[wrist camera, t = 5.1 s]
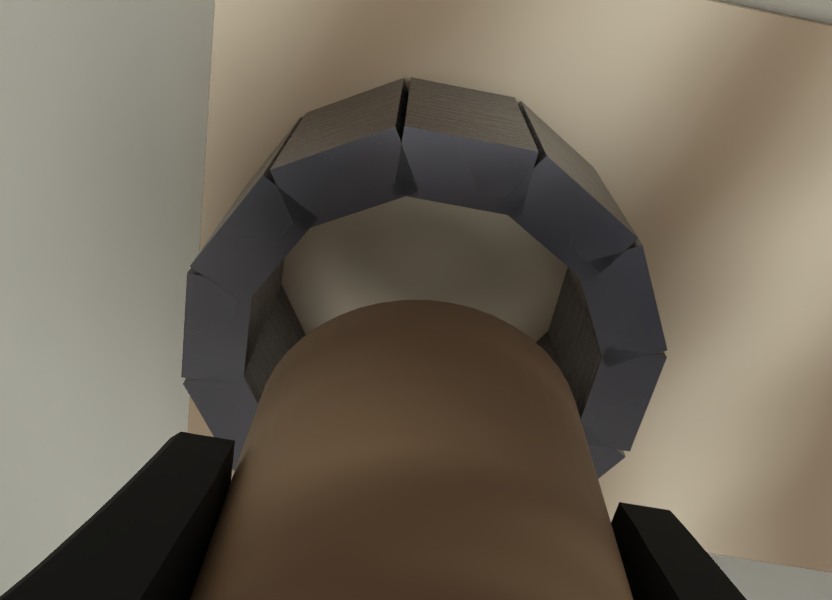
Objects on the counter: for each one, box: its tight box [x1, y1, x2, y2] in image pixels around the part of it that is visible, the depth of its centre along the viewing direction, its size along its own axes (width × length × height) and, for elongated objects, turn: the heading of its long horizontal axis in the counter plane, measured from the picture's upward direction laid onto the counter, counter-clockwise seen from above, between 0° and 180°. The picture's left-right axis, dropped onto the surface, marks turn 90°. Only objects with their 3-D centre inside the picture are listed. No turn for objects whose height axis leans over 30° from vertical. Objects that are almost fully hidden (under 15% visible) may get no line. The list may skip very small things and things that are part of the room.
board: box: [188, 0, 832, 572], centre depth 16 cm, size 18×12×1 cm, turn 79°
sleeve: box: [182, 77, 667, 479], centre depth 14 cm, size 8×8×4 cm
